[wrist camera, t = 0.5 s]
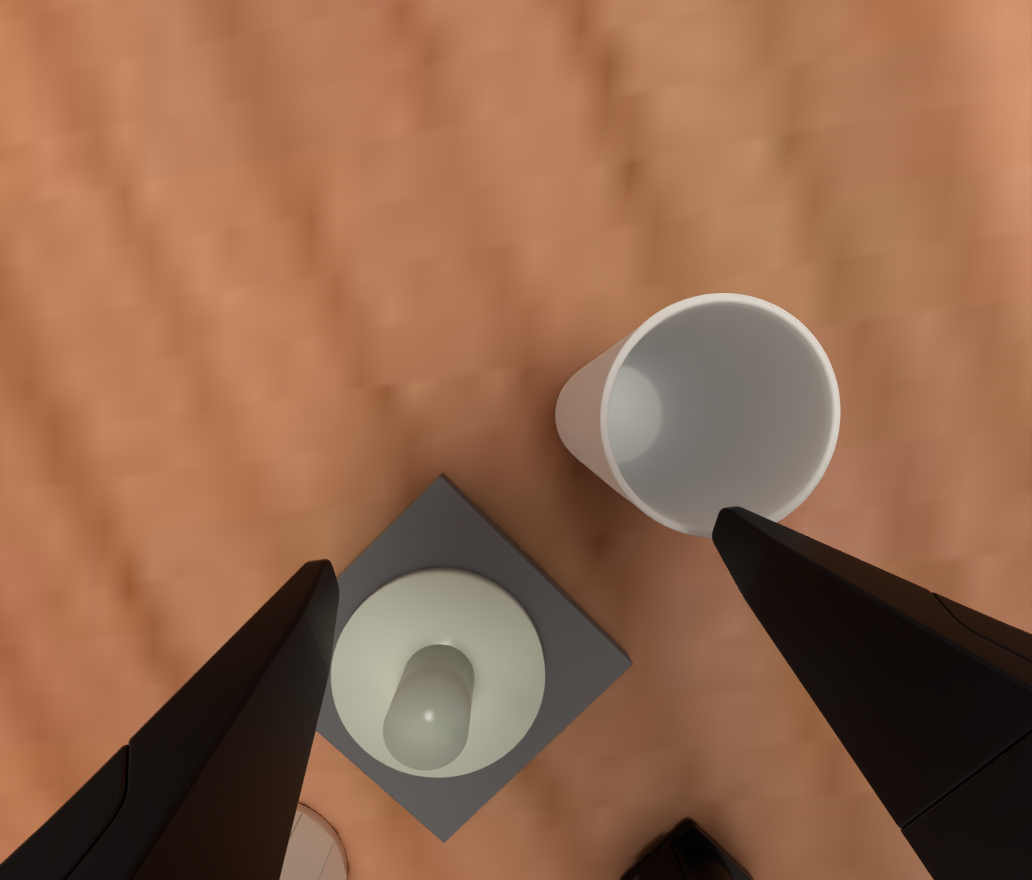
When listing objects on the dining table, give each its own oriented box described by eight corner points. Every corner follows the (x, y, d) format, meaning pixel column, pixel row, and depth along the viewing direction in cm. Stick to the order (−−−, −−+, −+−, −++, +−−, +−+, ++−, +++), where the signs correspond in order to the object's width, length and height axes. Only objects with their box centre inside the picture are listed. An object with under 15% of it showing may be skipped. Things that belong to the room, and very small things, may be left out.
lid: (585, 664, 22) (605, 727, 18) (443, 799, 23) (428, 894, 18) (440, 525, 22) (422, 554, 17) (295, 668, 22) (241, 734, 18)
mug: (528, 396, 22) (552, 379, 10) (625, 334, 22) (765, 242, 10) (617, 537, 23) (737, 674, 11) (711, 477, 23) (937, 550, 11)
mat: (627, 653, 23) (632, 664, 22) (446, 825, 24) (443, 842, 23) (442, 473, 22) (439, 476, 21) (257, 657, 23) (246, 669, 22)
